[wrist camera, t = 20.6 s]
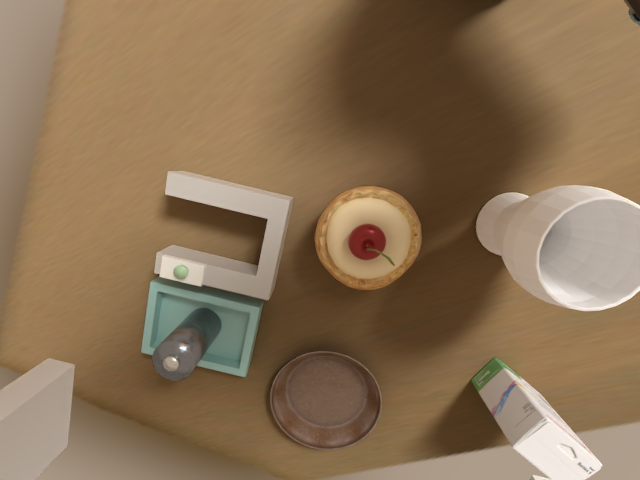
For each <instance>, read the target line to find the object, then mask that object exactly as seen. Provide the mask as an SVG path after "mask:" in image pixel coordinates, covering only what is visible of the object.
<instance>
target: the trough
mask: <svg viewBox="0 0 640 480" xmlns="http://www.w3.org/2000/svg"><path fill="white" fill-rule="evenodd" d="M263 303H264V300H260V299H256V298H252V297H248V296H244V295H240V294H236V293H231V292H227V291H223V290H219V289H215V288H211V287H206V286H201V287H200V286H196V285H192V284H187V283H183V282H179V281H175V280H171V279H167V278H162V277H157V278H156V279H154V280H152V281H151V282H150V290H149V297H148V304H147V312H146V319H145V327H144V334H143V342H142V349H141V352H142V353H146V354H150V355H153V352H154V350H155V349H156V347H157V346H158V345H159V344H160V343H161V342H162V341H163V340H164V339H165V338H166V337H167V336H168V335H169V334H170V333H171V332H172V331H173V330H174V329H175V328H176V327H177V326H178V325H179V324H180V323H181V322H182V321H183V320H184V319H185V318H186V317H187V316H188V315H189V314H190V313H191V312H192V311H194V310H195V309H198V308H208V309H210V310H212V311H214V312H215V313H216V314H217V315H218V316H219V318H220V320H221V331H220V333H219V334H218V336H217V337H216V339H215V340H214V341H213V343H212V344H211V346H210V347H209V349H208V350H207V351H206V353H205V354H204V356H203V357H202V358H201V360H200V361H199V363H198V364H197V366H200V367H204V368H208V369H212V370H216V371H221V372H225V373H229V374H233V375H237V376H241V377H246V375H247V372H248V370H249V368H250V364H251V359H252V355H253V350H254V345H255V341H256V336H257V331H258V327H259V322H260V317H261V312H262V308H263Z"/></svg>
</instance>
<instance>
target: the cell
mask: <svg viewBox="0 0 640 480" xmlns="http://www.w3.org/2000/svg"><path fill="white" fill-rule="evenodd" d="M220 331H221V320H220V318H219V316H218V315H217V314H216V313H215V312H214V311H212V310H210V309H208V308H198V309H195V310H194V311H192V312H191V313H190V314H189V315H188V316H187V317H186V318H185V319H184V320H183V321H182V322H181V323H180V324H179V325H178V326H177V327H176V328H175V329H174V330H173V331H172V332H171V333H170V334H169V335H168V336H167V337H166V338H165V339H164V340H163V341H162V342H161V343H160V344H159V345H158V346H157V347H156V349H155V350H154V352H153V355H152V362H153V366H154V368H155V370H156V371H157V372H158V373H159V374H160V375H161V376H162V377H164V378H166V379H169V380H175V381H177V380H182V379H185V378H186V377H188V376H189V375H190V374H191V373H192V371H193V370H194V368H195V367H196V366H197V364H198V363H199V361H200V360H201V358H202V357H203V356H204V354H205V353H206V351H207V350H208V349H209V347H210V346H211V344H212V343H213V341H214V340H215V339H216V337H217V336H218V334H219V333H220Z"/></svg>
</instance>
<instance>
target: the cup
mask: <svg viewBox="0 0 640 480" xmlns="http://www.w3.org/2000/svg"><path fill="white" fill-rule="evenodd" d="M476 232H477V236H478V239H479V241H480V242H481V244H482V245H483V246H484V247H485V248H486V249H487V250H488V251H490V252H492V253H494V254H497V255H500V256H502V260H503V262H504V264H505V266H506V268H507V269H508V271H509V273H510V274H511V276H512V277H513V279H514V280H515V281H516V282H517V283H518V284H519V285H520V286H522V287H523V288H524V289H525V290H527V291H528V292H530V293H531V294H533V295H534V296H535V297H538V298H540V299H542V300H544V301H546V302H548V303H551V304H554V305H558V306H562V307H566V308H570V309H575V310H580V311H598V310H603V309H607V308H610V307H614V306H617V305H619V304H621V303H622V302H624V301H626V300H628V299H630V298H631V297H633V296H634V295H635V294H636V293H637V292H638V291H639V290H640V205H638V204H636V203H634V202H632V201H630V200H628V199H626V198H624V197H622V196H619V195H617V194H615V193H613V192H611V191H608V190H606V189H601V188H595V187H590V186H578V185H569V186H557V187H554V188H551V189H548V190H545V191H542V192H539V193H537V194H534V195H531V196H530V197H529V196H527V195H524V194H521V193H516V192H510V193H503V194H500V195H497V196H496V197H494V198H492V199H491V200H489V201H488V202H487V203H486V204H485V205H484V206H483V208H482V209H481V211H480V213H479V214H478V218H477V221H476Z"/></svg>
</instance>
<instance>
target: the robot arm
mask: <svg viewBox="0 0 640 480" xmlns="http://www.w3.org/2000/svg"><path fill="white" fill-rule="evenodd" d="M624 2H625V3H626V4H627V6H628V7H629V8H630V9H629V15H630V17H631V19H632V20H633V21H634V22H635V23H636V24H638V25H640V0H624ZM74 370H75V364H71V363H66V362H62V361H58V360H54V359H50V358H48V359H46V360H45V361H43V362H42V363H40V364H39V365H37V366H36V367H34V368H33V369H31V370H30V371H28V372H27V373H25V374H24V375H22V376H21V377H19V378H18V379H16V380H15V381H13V382H12V383H10V384H9V385H7V386H6V387H4V388H3V389H1V390H0V480H35V479H36V478H37V477H38V476H39V475H40V474H41V473H42V472H43V471H44V470H45V469H46V468H47V467H48V466H49V465H50V464H51V463H52V462H53V461H54V460H55V459H56V457H57V456H58V455H59V454H60V453H61V452H62V451H63V450H64V449H65V448H66V447H67V446H68V437H69V425H70V415H71V403H72V392H73V381H74ZM530 480H553V479H548V478H544V477H540V476H536V475H532V476H531V478H530Z"/></svg>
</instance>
